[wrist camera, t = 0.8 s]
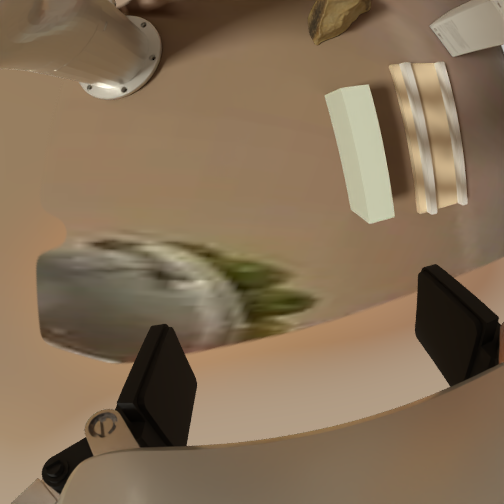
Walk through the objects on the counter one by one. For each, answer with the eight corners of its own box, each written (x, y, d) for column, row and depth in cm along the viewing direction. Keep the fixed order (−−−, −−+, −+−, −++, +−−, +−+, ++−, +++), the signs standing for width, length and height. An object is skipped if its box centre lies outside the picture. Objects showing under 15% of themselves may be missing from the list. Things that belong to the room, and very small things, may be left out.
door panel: (324, 95, 34) (340, 88, 28) (348, 91, 34) (368, 84, 28) (350, 209, 40) (369, 223, 34) (372, 203, 40) (394, 217, 33)
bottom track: (388, 65, 32) (396, 62, 30) (440, 64, 31) (450, 62, 29) (417, 212, 40) (425, 216, 38) (463, 198, 40) (472, 202, 37)
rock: (367, -23, 25) (301, -31, 24) (405, -10, 21) (331, -24, 20) (360, 38, 34) (299, 36, 33) (392, 60, 30) (325, 57, 29)
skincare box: (451, 58, 31) (519, 44, 16) (426, 24, 29) (489, -3, 15) (473, 38, 29) (536, 25, 14) (450, 7, 27) (509, -16, 13)
